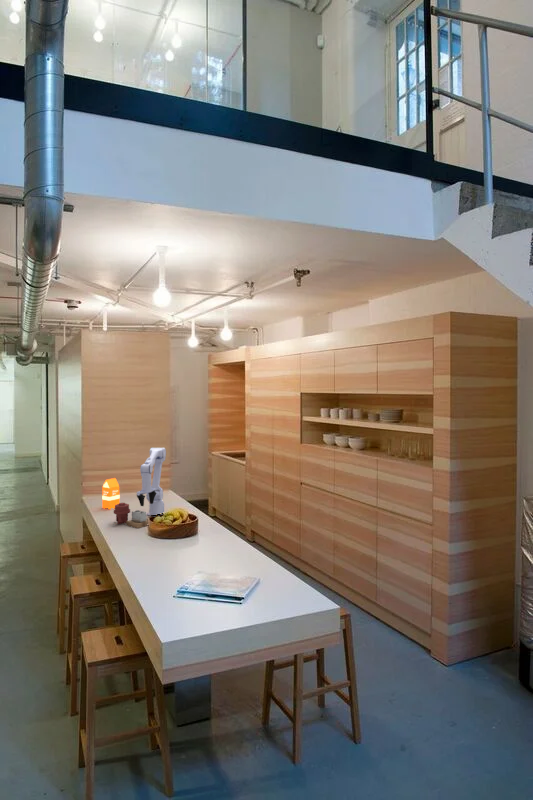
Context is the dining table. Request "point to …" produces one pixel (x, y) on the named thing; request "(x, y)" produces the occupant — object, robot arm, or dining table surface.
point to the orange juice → (110, 493)
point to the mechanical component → (121, 512)
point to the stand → (137, 523)
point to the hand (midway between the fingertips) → (146, 504)
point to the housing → (138, 516)
